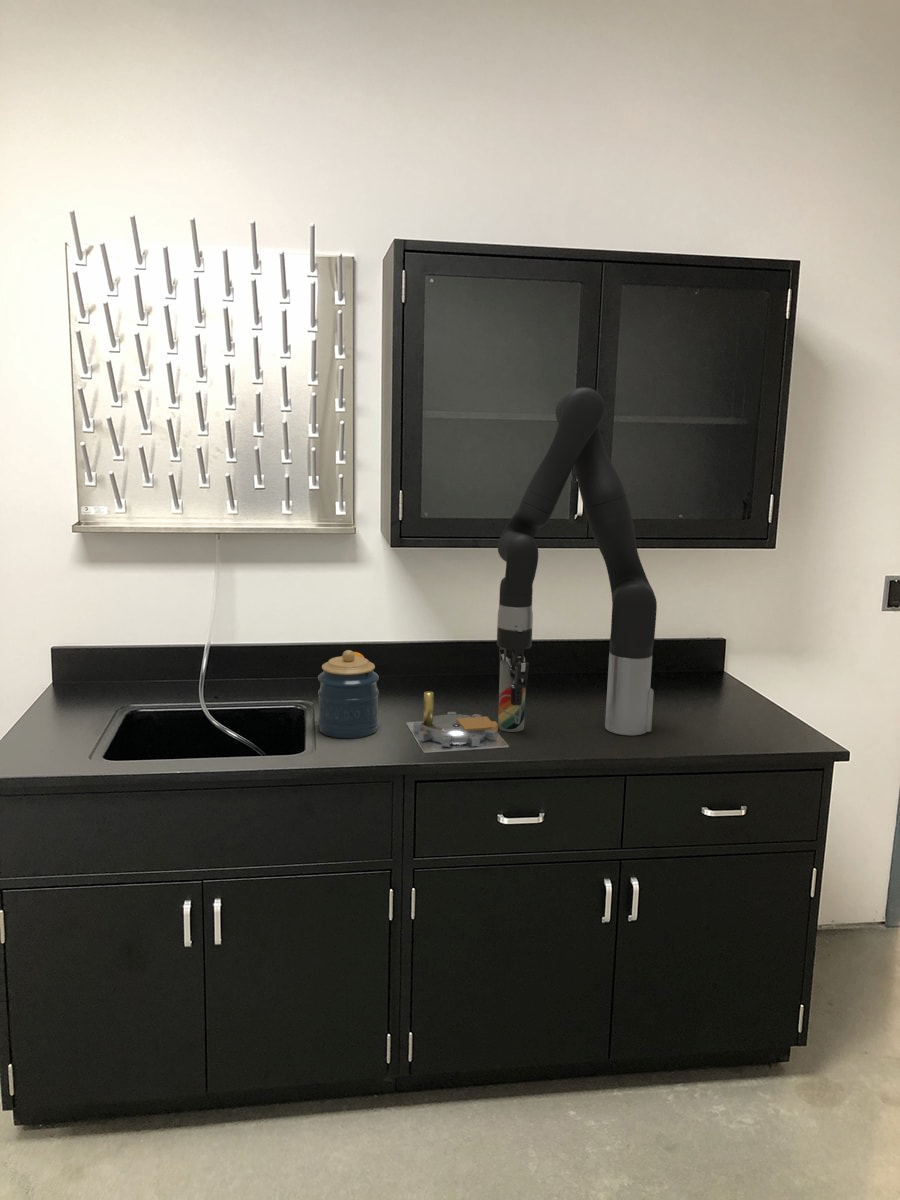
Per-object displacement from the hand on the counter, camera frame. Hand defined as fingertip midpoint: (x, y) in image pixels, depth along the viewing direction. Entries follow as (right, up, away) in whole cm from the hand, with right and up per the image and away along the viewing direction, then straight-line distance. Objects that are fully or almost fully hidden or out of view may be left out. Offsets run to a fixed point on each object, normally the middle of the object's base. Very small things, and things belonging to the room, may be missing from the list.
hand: (512, 700), depth 204 cm
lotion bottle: (0, -6, +1) cm, 7 cm away
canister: (-36, -6, -1) cm, 36 cm away
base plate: (-12, -7, -4) cm, 15 cm away
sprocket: (-12, -7, -4) cm, 15 cm away
